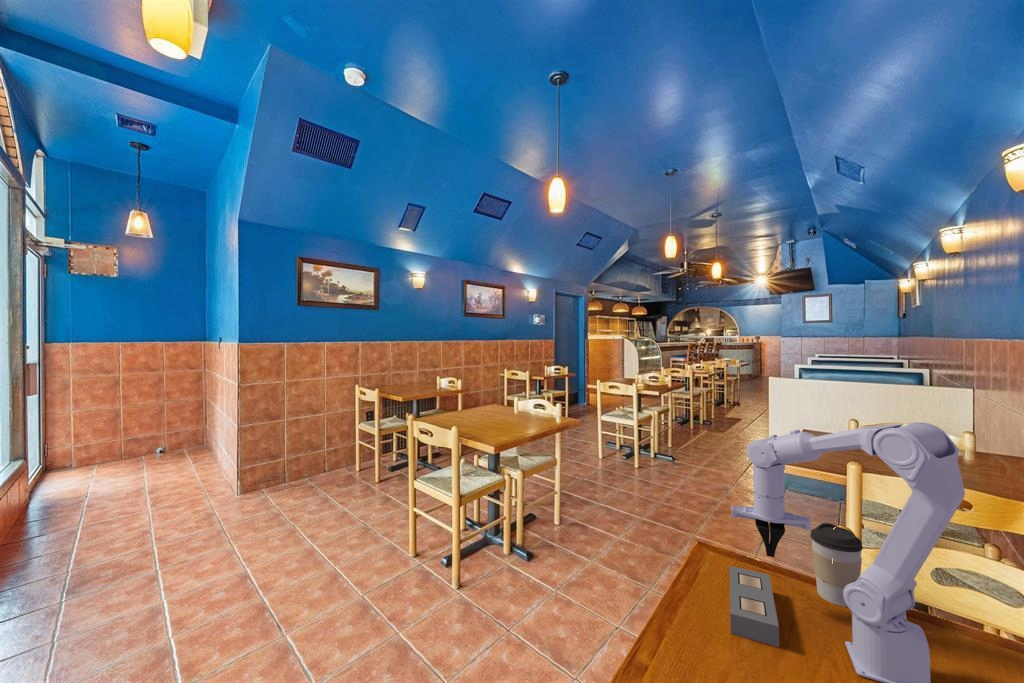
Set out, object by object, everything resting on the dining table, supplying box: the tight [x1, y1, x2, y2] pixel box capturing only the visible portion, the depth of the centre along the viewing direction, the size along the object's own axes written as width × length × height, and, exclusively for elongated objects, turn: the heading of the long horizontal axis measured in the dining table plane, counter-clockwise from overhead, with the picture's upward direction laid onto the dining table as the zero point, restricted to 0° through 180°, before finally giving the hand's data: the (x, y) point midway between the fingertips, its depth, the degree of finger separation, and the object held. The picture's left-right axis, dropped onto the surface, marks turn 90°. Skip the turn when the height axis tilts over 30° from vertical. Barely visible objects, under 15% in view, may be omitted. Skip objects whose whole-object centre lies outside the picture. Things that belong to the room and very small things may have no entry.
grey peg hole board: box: [729, 565, 780, 648], centre depth 84 cm, size 8×18×4 cm, turn 152°
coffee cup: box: [809, 522, 864, 608], centre depth 88 cm, size 9×9×15 cm
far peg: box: [739, 574, 761, 589], centre depth 88 cm, size 4×4×4 cm
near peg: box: [741, 597, 765, 616], centre depth 80 cm, size 4×4×4 cm
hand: (770, 554), depth 87 cm, fingers closed
